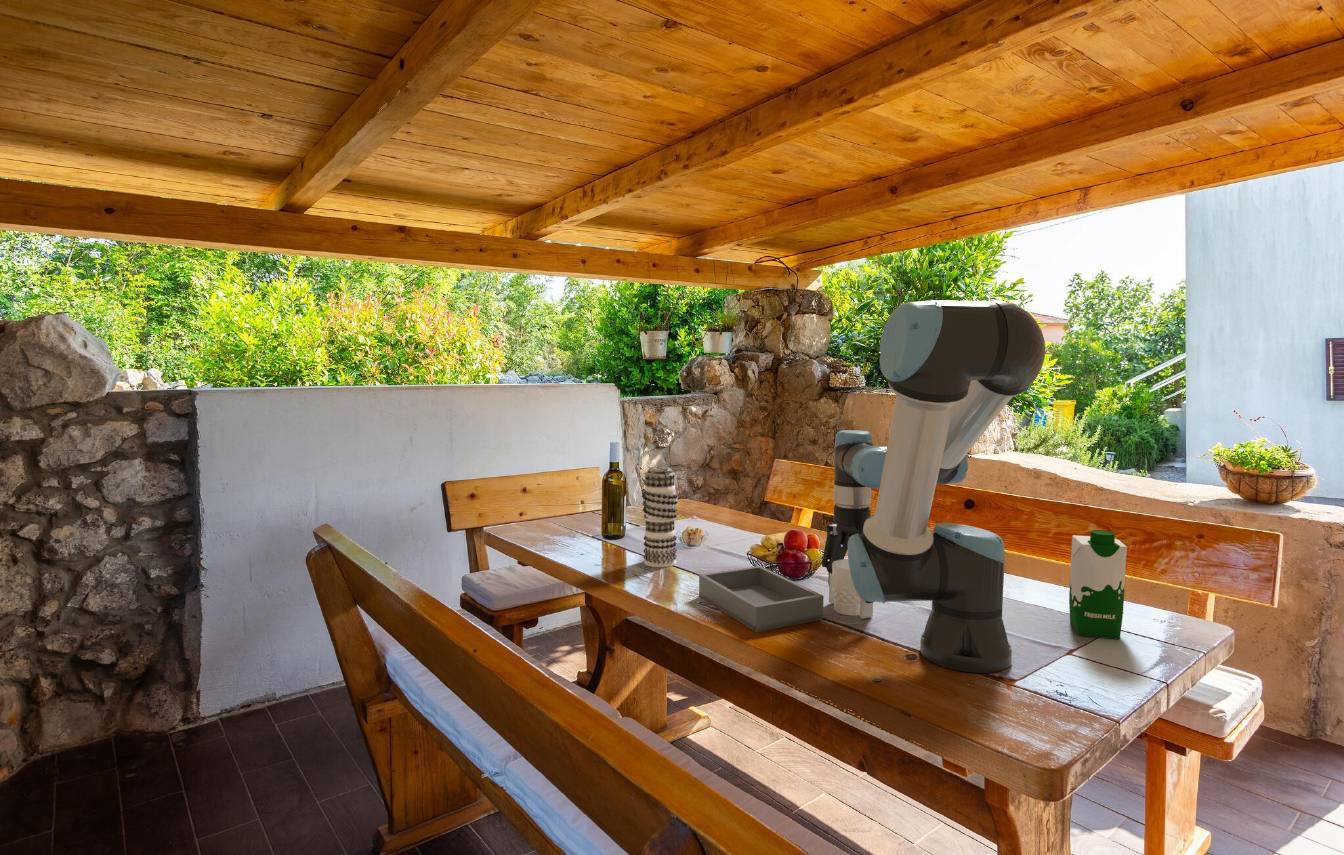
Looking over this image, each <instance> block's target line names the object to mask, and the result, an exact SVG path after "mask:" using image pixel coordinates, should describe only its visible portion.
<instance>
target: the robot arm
mask: <svg viewBox="0 0 1344 855" xmlns="http://www.w3.org/2000/svg"><path fill="white" fill-rule="evenodd" d="M879 353H880V356H879V368H880V370H881V371H880V372H881V373H882V375H883V377H884V378H886V379H887V380H888V383H887V384H888V387H889V389H891V391H892V392H893V393H894V394H895V395H896V396H895V401H894V407H893V412H892V413H893V414H892V418H891V421H890V422H891V423H890V429H889V434H888V440H887V444H886V445H874V443H873V435H872V433H871V432H870V431H868V430H867V431H866V430H855V429H853V430H852V429H851V430H849V429H847V430H839V431H837V433H835V438H834V439H835V440H834V446H833V451H834V473H833V474H834V476H833V478H834V480H833V481H834V483H833V502H834V503H835V504H834V506H833V522H834V524H833V523H832V524H827V525H826V539H825V544H824V549H823V555H822V560H821V566H822V568H826V571H827V573H828V578H827V579H828V581H827V583H828V587H829V588H828V603H829V604H831V605H832V604H834V597H833V581H832V562H834V561H836V560H841V559H845V556H846V554H847V559H848V562H849V568H850V573H851V578H852V581H853V584H854V587H855V590H856V592H857V594H858V595H859V596H860V615H859V618H861V619H867V618H872V617H873V616H874V603H883V604H885V603H888V602H889V603H891V602H892V603H893V602H930V601H931V611H930V613H929V616H928V618H927V621H926V624H925V627H924V631H923V632H922V634H921V637H920V647H919V648H920V649H919V650H920V654H921V655H922V656H923V657H924V658H925V659H926V660H928V661H929V662H932V663H933V664H935V665H938V666H939V667H940V666H941V667H943V668H946V669H950V670H954V671H960V672H965V673H974V674H976V673H977V674H986V673H987V674H989V673H996V672H1002V671H1004V670H1006V669H1009V667H1010V666H1011V665H1012V661H1013V660H1012V657H1013V655H1012V654H1013V650H1012V646H1011V644H1010V643H1009V640H1008V636H1007V632H1006V628H1005V624H1004V620H1003V606H1004V605H1003V603H1004V602H1003V601H1004V599H1003V598H1004V581H1005V580H1004V579H1005V564H1006V557H1005V555H1006V554H1005V543H1004V541H1003V538H1002V537H1001V536H999V535H998V534H997V533H994V532H992V531H990V530H987V529H984V528H979V527H976V526H971V525H967V524H961V523H954V522H953V523H952V522H940V523H936V524H934V527H933V528H932V530H931V529H930V527H928V523H929V519H930V514H931V509H932V505H933V501H934V500H933V499H934V497H935V491H936V487H937V485H940V486H944V485H945V486H946V485H949V484H958V483H959V484H960V483H961V482H963V481H964V480H965V478H966V476H967V471H968V468H969V460H968V456H967V454H968V453H969V452H970V451H971V449H972V448H973V447H974V446H975V444H976V443H978V441H979V439H981V437H982V436H983V435H984V433H985V432H986V431H987V429H988V428H990V427H991V426H990V425H991V424H992V423H993V422H994V420H996V418H997V417H998V415H999V414H1000V413H1001V412H1002V410H1003V409H1005V407H1006V406H1007V405H1008V403H1009V402H1010V401H1011V400H1012V398H1013V397H1016V396H1019V395H1022V394H1024V393H1025V392H1026V391H1027V390H1028V389H1029V388H1030V387H1031V386H1032V385H1033V384H1034V382H1035V381H1036V380H1037V378H1038V376H1039V374H1040V372H1041V371H1042V368H1043V365H1044V362H1045V356H1046V341H1045V337H1044V334H1043V331H1042V328H1041V327H1040V325H1039V323H1038V321H1037V320H1036V319H1035V318H1034V317H1033V316H1032V315H1031V314H1030V313H1029V312H1028V311H1027V310H1025V309H1024V308H1023V307H1021V306H1019V305H1017V304H1014V303H1012V302H1008V301H1003V300H984V301H983V300H982V301H980V300H960V301H959V300H934V299H927V300H923V301H908V302H905V303H902V304H901V305H899V306H897V307H896V309H894V310H893V311H892V312H891V314H890V315H889V317H888V318H887V320H886V323H885V325H884V329H883V331H882V334H881V338H880V343H879ZM872 489H878V496H877V501H876V507H875V512H874V514H873V515H872V513H871V512H872V508H871V506H869V505H870V504H871V503H872Z"/></svg>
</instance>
